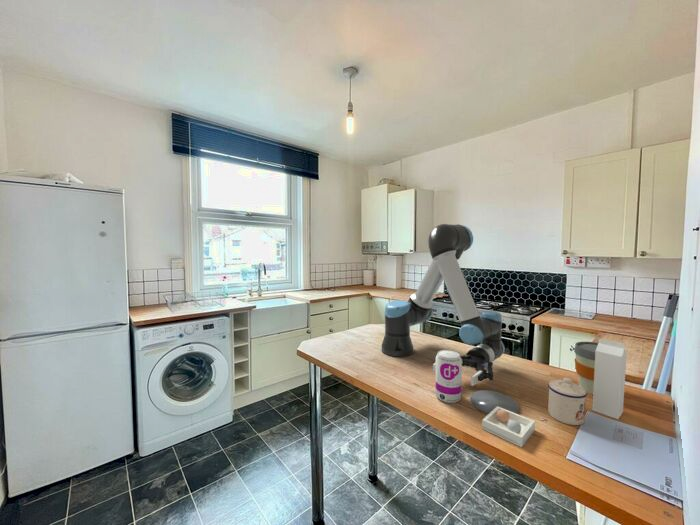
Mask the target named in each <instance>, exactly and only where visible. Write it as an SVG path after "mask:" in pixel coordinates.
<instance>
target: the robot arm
mask: <svg viewBox="0 0 700 525" xmlns="http://www.w3.org/2000/svg"><path fill="white" fill-rule="evenodd" d="M427 243H428V249H429V253H430V256H431V258H432V260H431V262H430V264H429V266H428V269H427V270H426V272H425V274H424V276H423V278H422V280H421V282H420V284H419V286H418V288H417V289H416V291H415V292H414V293H411V294H410V297H409V298H408V300H405V299H404V300H403V299H397V300H396V299H395V300H391V301H388V302H387V303H386V305H385V308H384V337H383V340H382V344H381V352H382V353H383V354H385V355H387V356H390V357H397V358H398V357H400V358H402V357H407V356H411V355H412V354H414V352H415V351H414V349H415V348H414V345H413V340H412V338H411V327H413V326H416V325H419V324H423V323H426V322H427V321H429V320H431V317H433V312H434V310H433V307H434V303H433V300H434V299H435V296H436V295H437V293H438V291H439V289H440V287H441V285H442V283H443V282H444V285H445V287H446V290H447V293H448V295H449V297H450V300H451V301H452V302H451V303H452V305H453V308H454V310H455V313H456V315H457V318H458V321H459V323H460V326H461V327H460V328H459V329H458V330H459V332H458V333H459V334H458V335H459V338H460V339H461V341H462V342H463V343H464V344H466V345H469V346H473V345H476V344H477V345H476V346H475V347H473V348H471V349H469V350H468V351H467V352H466V354H462V355H461V354H460V352H458V351H457V352H458V353H459V354H460V357H461V359H462V367H470V368H473V369H475V371H476V373H475V374H473V375H472V376H471V377H470V386H472V387H473V386H475V385H476V384H478V383H479V382H483V381H486V380H488V381H491V382H492V381H494V372H493V369H494V365H493V364H494V361H495V360H497V359H499V358H500V357H501V356H502V355H503V354H504V353H505V351H506V350H505V347H506V346H505V344H504V343H503V341H502V330H503V329H502V327H503V326H502V325H503V324H502V323H503V320H502V319H503V318H502V314H501V312H499V311H496V310H495V311H493V310H483V311H481V313H479V310H478V309H477V306H476V304H475V301H474V298H473V297H472V294H471V291H470V289H469V286H468V284H467V281H466V279H465V276H464V274H463V272H462V268H461V267H460V264H459V260H460V258H461V256H462V255H463V254H464V252H466V251H468V250H469V249H470V248H471V247H472V245H473V244H474V235H473V232H472V231H471V229H470V228H469V227H468V226H466V225H464V224H463V225H462V224H459V223H458V224H456V223H455V224H447V223H443V224H441V223H440V224H438V225H437V226H435V227H434V228H433V229H432V230H431V231H430V233H429V236H428V240H427ZM485 368H486V369H485ZM432 372H434V373H436V361H435V362H434V363H432Z"/></svg>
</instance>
